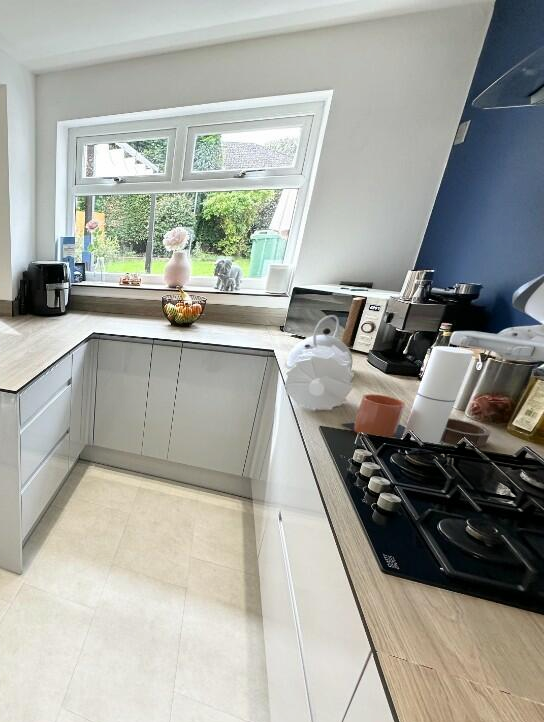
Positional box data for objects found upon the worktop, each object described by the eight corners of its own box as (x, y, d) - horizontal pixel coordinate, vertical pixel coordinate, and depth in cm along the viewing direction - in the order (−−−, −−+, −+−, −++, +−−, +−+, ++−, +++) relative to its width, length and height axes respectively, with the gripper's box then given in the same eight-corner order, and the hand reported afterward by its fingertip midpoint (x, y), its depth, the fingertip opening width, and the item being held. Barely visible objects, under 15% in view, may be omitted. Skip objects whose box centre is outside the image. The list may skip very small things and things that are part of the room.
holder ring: (497, 446, 104) (502, 434, 103) (460, 448, 103) (465, 436, 102) (450, 427, 115) (454, 416, 114) (416, 429, 114) (420, 418, 112)
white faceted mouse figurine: (291, 420, 129) (300, 394, 147) (360, 411, 117) (360, 384, 135) (274, 368, 127) (285, 349, 146) (341, 353, 115) (344, 334, 134)
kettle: (330, 380, 155) (345, 322, 147) (272, 365, 173) (283, 314, 166) (361, 370, 166) (377, 317, 159) (304, 358, 185) (315, 309, 177)
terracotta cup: (402, 439, 108) (414, 405, 104) (373, 441, 107) (384, 407, 104) (372, 425, 116) (382, 393, 113) (345, 427, 115) (354, 395, 112)
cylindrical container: (395, 435, 109) (425, 347, 101) (415, 432, 111) (446, 345, 102) (425, 447, 103) (460, 354, 94) (445, 444, 104) (481, 352, 96)
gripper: (472, 324, 114) (439, 327, 110) (583, 339, 95) (548, 343, 91) (464, 346, 116) (432, 349, 112) (571, 364, 97) (536, 369, 93)
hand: (485, 346), depth 101 cm, fingers open, 8 cm apart
